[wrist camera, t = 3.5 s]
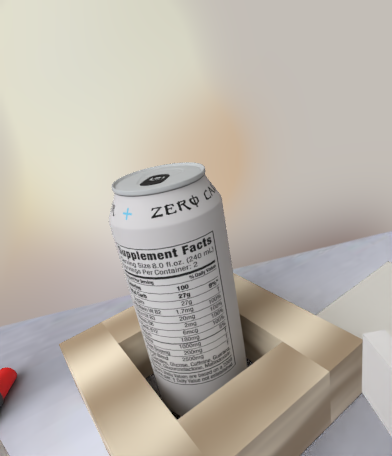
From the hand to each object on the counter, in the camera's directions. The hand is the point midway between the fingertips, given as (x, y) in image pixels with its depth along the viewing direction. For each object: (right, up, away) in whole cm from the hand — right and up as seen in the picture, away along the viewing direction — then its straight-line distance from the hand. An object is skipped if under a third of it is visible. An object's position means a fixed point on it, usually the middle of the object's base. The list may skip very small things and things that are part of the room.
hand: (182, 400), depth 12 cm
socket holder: (+1, -5, +11) cm, 12 cm away
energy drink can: (+1, -5, +11) cm, 12 cm away
